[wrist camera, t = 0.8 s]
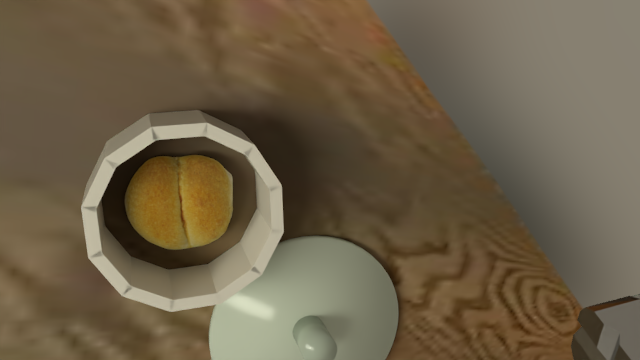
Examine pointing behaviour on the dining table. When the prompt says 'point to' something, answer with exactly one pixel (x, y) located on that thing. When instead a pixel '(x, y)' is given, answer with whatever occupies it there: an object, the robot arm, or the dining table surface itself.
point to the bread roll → (180, 201)
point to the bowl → (195, 281)
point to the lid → (310, 307)
